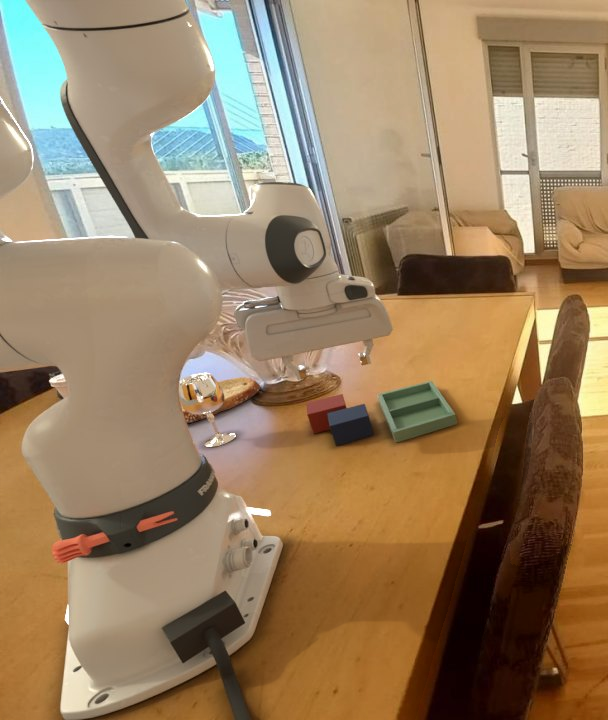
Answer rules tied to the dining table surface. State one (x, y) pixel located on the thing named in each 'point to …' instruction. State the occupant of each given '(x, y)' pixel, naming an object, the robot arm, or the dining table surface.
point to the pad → (350, 424)
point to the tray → (417, 420)
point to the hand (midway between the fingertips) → (335, 370)
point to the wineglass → (204, 402)
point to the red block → (323, 411)
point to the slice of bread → (230, 396)
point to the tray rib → (414, 407)
